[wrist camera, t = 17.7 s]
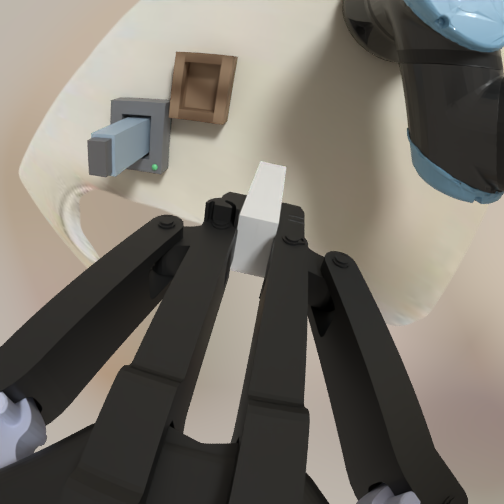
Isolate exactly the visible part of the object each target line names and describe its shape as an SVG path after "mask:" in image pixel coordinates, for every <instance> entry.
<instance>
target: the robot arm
mask: <svg viewBox="0 0 504 504" xmlns="http://www.w3.org/2000/svg"><path fill="white" fill-rule="evenodd" d="M343 16H344V20H345V23H346V25H347V27H348V29H349V31H350V33H351V34H352V36H353V37H354V38H355V40H356V41H357V42H358V43H359V44H360V45H361V46H362V47H363V48H365V49H366V50H367V51H369V52H370V53H372V54H373V55H375V56H377V57H379V58H382V59H384V60H387V61H391V62H397V63H399V65H400V71H401V76H402V82H403V89H404V96H405V103H406V111H407V120H408V128H407V136H408V139H409V142H410V148H411V157H412V163H413V166H414V167H415V169H416V171H417V172H418V174H419V176H420V177H421V178H422V179H423V180H424V181H425V182H426V183H428V184H429V185H430V186H432V187H433V188H434V189H436V190H438V191H440V192H442V193H444V194H446V195H448V196H450V197H453V198H455V199H458V200H461V201H466V202H470V203H473V202H474V200H475V201H477V202H479V203H480V204H489V203H493V202H495V201H498V200H499V199H500V198H501V196H502V195H503V193H504V72H503V65H502V58H501V51H500V49H502V47H504V0H343ZM285 174H286V167H285V166H281V165H277V164H272V163H267V162H263V161H260V164H259V166H258V169H257V171H256V174H255V176H254V179H253V182H252V184H251V187H250V189H249V192H248V194H247V195H243V194H238V193H233V192H228V193H227V194H225V195H223V197H222V198H214V199H211V200H208V201H207V202H206V207H205V217H204V222H203V224H202V225H201V226H195V227H184V226H183V221H182V220H181V219H180V218H178V217H177V216H173V215H161V216H158V217H156V218H153V219H152V220H151V221H149V222H148V223H146V224H145V225H144V226H142V227H141V228H140V229H138V230H137V231H136V232H134V233H133V234H132V235H130V236H129V237H128V238H126V239H125V240H124V241H123V242H121V243H120V244H119V245H117V246H116V247H114V248H113V249H112V250H111V251H109V252H108V253H107V254H106V255H104V256H103V257H102V258H100V259H99V260H98V261H97V262H95V263H94V264H93V265H92V266H90V267H89V268H88V269H87V270H85V271H84V272H83V273H82V274H81V275H79V276H78V277H77V278H76V279H75V280H73V281H72V282H71V283H70V284H69V285H67V286H66V287H65V288H64V289H63V290H62V291H60V292H59V293H58V294H57V295H56V296H55V297H54V298H52V299H51V300H50V301H49V302H48V303H47V304H46V305H45V306H44V307H42V308H41V309H40V310H39V311H38V312H37V313H36V314H35V315H34V316H32V317H31V318H30V319H29V320H28V321H27V322H26V323H25V324H24V325H23V326H22V327H21V328H20V329H19V330H17V331H16V332H15V333H14V334H13V336H11V338H9V339H8V340H7V341H6V342H5V343H4V344H3V345H2V346H1V347H0V504H329V502H328V501H327V500H326V498H325V497H324V495H323V494H322V493H321V491H320V490H319V489H318V487H317V485H316V484H315V483H314V481H313V480H312V479H311V477H310V476H309V475H308V474H307V473H306V463H307V450H308V437H309V423H310V419H309V411H308V409H307V408H305V407H304V389H305V388H304V387H305V368H306V346H307V315H308V319H309V322H310V326H311V330H312V333H313V337H314V340H315V344H316V348H317V352H318V355H319V359H320V363H321V367H322V371H323V375H324V378H325V383H326V386H327V390H328V394H329V398H330V402H331V406H332V410H333V415H334V419H335V423H336V427H337V431H338V436H339V439H340V444H341V448H342V453H343V457H344V461H345V466H346V470H347V474H348V477H349V481H350V484H351V486H352V489H353V491H354V493H355V496H356V497H357V499H358V502H357V503H356V504H468V498H467V495H466V493H465V491H464V490H463V488H462V487H461V485H460V484H459V483H458V481H457V479H456V478H455V477H454V475H453V474H452V472H451V471H450V469H449V468H448V466H447V465H446V464H445V462H444V461H443V459H442V458H441V456H439V454H438V452H437V451H436V449H435V448H434V444H433V442H432V438H431V435H430V432H429V429H428V427H427V424H426V421H425V418H424V416H423V413H422V410H421V407H420V405H419V402H418V399H417V397H416V394H415V391H414V389H413V386H412V384H411V381H410V379H409V376H408V374H407V371H406V369H405V367H404V364H403V362H402V359H401V357H400V355H399V352H398V350H397V348H396V346H395V344H394V341H393V339H392V337H391V335H390V332H389V330H388V328H387V326H386V323H385V321H384V319H383V317H382V315H381V313H380V311H379V308H378V306H377V304H376V302H375V300H374V298H373V296H372V294H371V292H370V290H369V288H368V286H367V284H366V282H365V280H364V278H363V276H362V274H361V272H360V270H359V268H358V266H357V265H356V263H355V261H354V260H353V259H352V258H351V257H349V256H348V255H347V254H344V253H342V252H337V251H330V252H328V253H326V255H325V257H323V256H321V255H319V254H317V253H315V252H313V251H312V250H310V249H309V248H308V243H307V240H306V239H305V238H304V211H303V210H302V209H301V207H299V206H295V205H291V204H287V203H282V196H283V189H284V181H285ZM230 267H231V270H233V271H237V272H241V273H246V274H250V275H254V276H259V277H264V282H263V285H262V289H261V293H260V297H259V298H260V301H259V307H258V312H257V318H256V323H255V328H254V333H253V338H252V343H251V349H250V354H249V359H248V364H247V369H246V374H245V379H244V384H243V389H242V394H241V399H240V404H239V409H238V414H237V419H236V424H235V428H234V433H233V436H232V440H231V443H229V444H204V443H200V442H198V441H196V440H194V439H192V438H190V437H188V436H186V435H184V434H183V431H184V425H185V420H186V416H187V412H188V409H189V406H190V402H191V399H192V395H193V392H194V389H195V385H196V382H197V379H198V375H199V372H200V368H201V365H202V362H203V359H204V356H205V352H206V349H207V346H208V342H209V339H210V336H211V332H212V329H213V326H214V323H215V320H216V316H217V313H218V310H219V307H220V303H221V300H222V297H223V294H224V291H225V287H226V284H227V281H228V278H229V271H230ZM161 300H162V302H161V303H160V306H159V308H158V310H157V312H156V314H155V316H154V318H153V320H152V322H151V324H150V326H149V328H148V330H147V332H146V334H145V336H144V338H143V341H142V343H141V345H140V347H139V349H138V351H137V353H136V355H135V358H134V360H133V361H132V363H131V364H130V365H124V366H123V367H122V368H121V369H120V371H119V372H118V374H117V376H116V378H115V380H114V382H113V384H112V386H111V389H110V391H109V393H108V395H107V398H106V400H105V402H104V404H103V407H102V409H101V411H100V413H99V416H98V418H97V421H96V423H94V424H91V425H90V426H87V427H86V428H84V429H82V430H80V431H78V432H76V433H74V434H72V435H70V436H68V437H66V438H64V439H62V440H61V441H58V442H57V443H55V444H52V445H51V446H49V447H46V448H44V449H42V450H40V451H38V452H36V453H34V451H35V449H36V448H37V447H38V446H42V445H44V444H45V442H46V439H47V435H46V425H47V424H49V423H51V422H52V421H53V420H54V419H55V418H57V417H58V416H59V415H60V414H62V412H63V411H64V410H65V409H66V408H67V407H68V406H69V405H70V404H71V403H72V402H73V400H74V399H75V398H76V397H77V396H78V394H79V393H80V392H81V391H82V390H83V388H84V387H85V386H86V385H87V384H88V383H89V382H90V380H91V379H92V378H93V377H94V376H95V375H96V373H97V372H98V371H99V370H100V369H101V368H102V366H103V365H104V364H105V363H106V362H107V361H108V359H109V358H110V357H111V356H112V355H113V354H114V353H115V351H116V350H117V349H118V348H119V347H120V346H121V345H122V343H123V342H124V341H125V340H126V339H127V338H128V337H129V336H130V334H131V333H132V332H133V331H134V330H135V329H136V328H137V327H138V325H139V324H140V323H141V322H142V321H143V320H144V319H145V318H146V317H147V315H148V314H149V313H150V312H151V311H152V310H153V309H154V308H155V307H156V306H157V304H158V303H159V302H160V301H161ZM33 453H34V454H33Z"/></svg>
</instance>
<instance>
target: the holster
mask: <svg viewBox="0 0 504 504" xmlns="http://www.w3.org/2000/svg"><path fill="white" fill-rule="evenodd" d="M237 58H238V57H234V56H226V55H217V54H205V53H191V52H176V57H175V65H174V72H173V81H172V89H171V99H170V109H169V118H177V119H186V120H193V121H201V122H208V123H214V124H221V125H223V124H224V123H225V122H227V119H228V112H229V106H230V100H231V93H232V87H233V81H234V75H235V70H236V64H237Z"/></svg>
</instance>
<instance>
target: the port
mask: <svg viewBox="0 0 504 504" xmlns="http://www.w3.org/2000/svg"><path fill="white" fill-rule="evenodd" d="M169 109H170V100H160V99H144V98H117V99H114V100H111V124H113V123H115V122H118V121H120V120H122V119H125V118H127V117H130V116H132V115H138V116H150V117H151V129H150V151H149V153H147V154H146V155H144V156H143V157H142V158H140V159H139V160H137V161H136V162H135V163H133V164H132V165H130V166H129V167H128V168H126V169H132V170H138V171H144V172H151V173H157V174H162V173H163V172H164V171H165V170H166V169H167V168H168V158H169V142H170V129H171V118H169Z"/></svg>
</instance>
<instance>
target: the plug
mask: <svg viewBox="0 0 504 504" xmlns="http://www.w3.org/2000/svg"><path fill="white" fill-rule="evenodd" d="M150 129H151V117H150V116H138V115H132V116H130V117H127V118H125V119H122V120H120V121H118V122H115V123H113V124H111V125H109V126H106V127H104V128H102V129H100V130H98V131H95V132H93V133H91V139H89V140H87V141H88V163H89V175H95V176H101V177H107V176H115V177H116V176H117V175H118V174H120V173H121V172H122V171H124V170H125V169H126V168H128V167H129V166H130V165H132V164H133V163H135V162H136V161H137V160H139V159H140V158H142V157H143V156H144V155H146V154H147V153H149V151H150Z"/></svg>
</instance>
